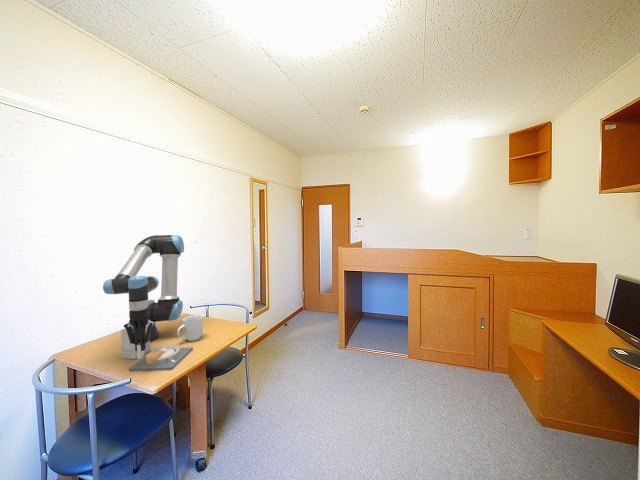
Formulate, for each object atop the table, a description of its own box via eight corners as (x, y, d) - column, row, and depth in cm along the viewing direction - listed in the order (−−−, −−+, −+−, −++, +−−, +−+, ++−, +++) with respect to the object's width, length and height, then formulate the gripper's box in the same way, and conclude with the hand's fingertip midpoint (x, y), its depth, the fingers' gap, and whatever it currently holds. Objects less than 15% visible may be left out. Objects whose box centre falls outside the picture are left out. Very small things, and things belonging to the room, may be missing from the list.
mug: (182, 347, 138) (182, 324, 137) (173, 342, 144) (172, 321, 143) (207, 337, 150) (206, 316, 150) (197, 333, 156) (196, 313, 156)
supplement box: (151, 351, 134) (150, 324, 133) (135, 359, 125) (134, 331, 124) (137, 349, 136) (136, 323, 135) (121, 357, 127) (120, 329, 126)
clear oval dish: (159, 352, 130) (159, 340, 129) (178, 351, 130) (178, 339, 130) (137, 369, 113) (136, 355, 113) (159, 368, 113) (158, 355, 113)
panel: (156, 350, 134) (156, 344, 134) (192, 349, 135) (192, 343, 135) (128, 371, 114) (128, 363, 114) (171, 369, 115) (171, 362, 115)
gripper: (118, 311, 112) (120, 362, 113) (148, 310, 113) (150, 360, 114) (129, 307, 119) (131, 354, 120) (157, 305, 121) (159, 352, 121)
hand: (140, 357), depth 117 cm, fingers closed
